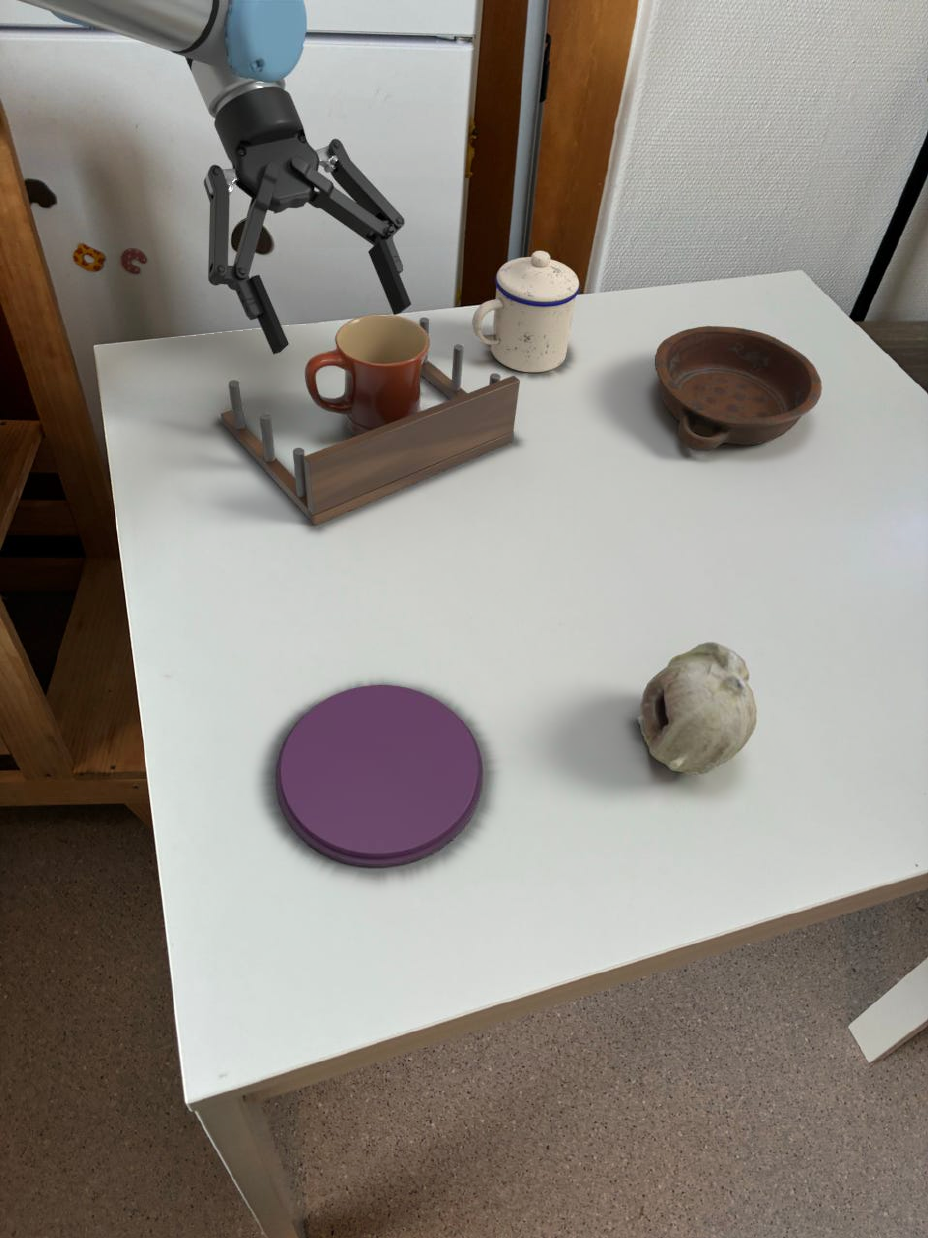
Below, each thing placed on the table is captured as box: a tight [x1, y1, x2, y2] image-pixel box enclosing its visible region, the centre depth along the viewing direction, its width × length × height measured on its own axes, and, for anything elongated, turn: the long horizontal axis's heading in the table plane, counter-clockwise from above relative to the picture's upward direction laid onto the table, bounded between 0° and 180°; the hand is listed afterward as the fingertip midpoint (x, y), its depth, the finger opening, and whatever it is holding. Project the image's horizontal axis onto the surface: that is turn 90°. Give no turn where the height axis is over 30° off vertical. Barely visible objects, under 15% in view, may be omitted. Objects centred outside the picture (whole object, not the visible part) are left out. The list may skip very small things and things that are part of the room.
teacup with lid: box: [471, 250, 581, 373], centre depth 98 cm, size 12×9×12 cm
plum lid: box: [274, 684, 484, 868], centre depth 65 cm, size 15×15×1 cm
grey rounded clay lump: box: [637, 641, 758, 777], centre depth 65 cm, size 9×8×10 cm
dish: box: [654, 325, 823, 452], centre depth 96 cm, size 18×22×5 cm
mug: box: [304, 313, 431, 437], centre depth 87 cm, size 12×9×10 cm
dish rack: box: [220, 317, 521, 526], centre depth 88 cm, size 18×23×7 cm
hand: (344, 329), depth 86 cm, fingers open, 13 cm apart
